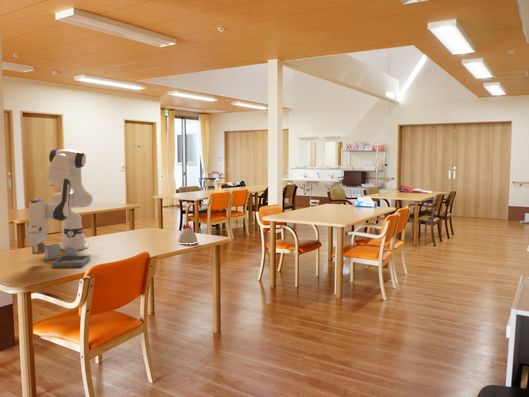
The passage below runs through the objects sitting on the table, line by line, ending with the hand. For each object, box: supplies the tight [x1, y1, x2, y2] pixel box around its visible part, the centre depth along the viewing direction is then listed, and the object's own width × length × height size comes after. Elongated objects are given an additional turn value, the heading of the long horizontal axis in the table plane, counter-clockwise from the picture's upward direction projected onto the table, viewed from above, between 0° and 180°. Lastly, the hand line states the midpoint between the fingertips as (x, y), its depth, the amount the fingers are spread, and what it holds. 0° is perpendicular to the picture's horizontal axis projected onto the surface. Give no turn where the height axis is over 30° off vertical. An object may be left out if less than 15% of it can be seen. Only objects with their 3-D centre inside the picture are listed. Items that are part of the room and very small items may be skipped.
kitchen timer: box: [177, 223, 198, 243], centre depth 337 cm, size 14×14×15 cm
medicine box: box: [44, 242, 61, 260], centre depth 283 cm, size 8×4×9 cm, turn 141°
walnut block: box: [31, 243, 46, 255], centre depth 265 cm, size 5×5×5 cm
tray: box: [51, 255, 91, 269], centre depth 268 cm, size 18×16×3 cm
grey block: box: [64, 245, 78, 256], centre depth 280 cm, size 7×7×8 cm
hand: (38, 250), depth 266 cm, fingers closed on walnut block, 5 cm apart
